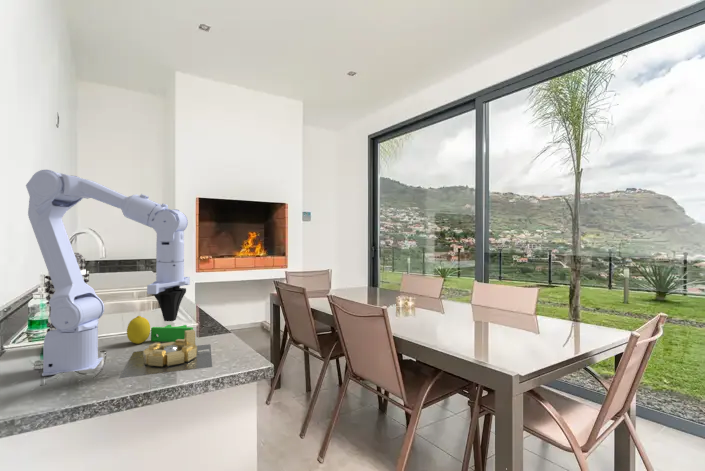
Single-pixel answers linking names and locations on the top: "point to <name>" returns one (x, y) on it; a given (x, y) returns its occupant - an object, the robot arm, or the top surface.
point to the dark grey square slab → (139, 367)
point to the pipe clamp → (169, 333)
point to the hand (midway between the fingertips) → (170, 320)
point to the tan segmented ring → (160, 358)
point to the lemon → (138, 330)
